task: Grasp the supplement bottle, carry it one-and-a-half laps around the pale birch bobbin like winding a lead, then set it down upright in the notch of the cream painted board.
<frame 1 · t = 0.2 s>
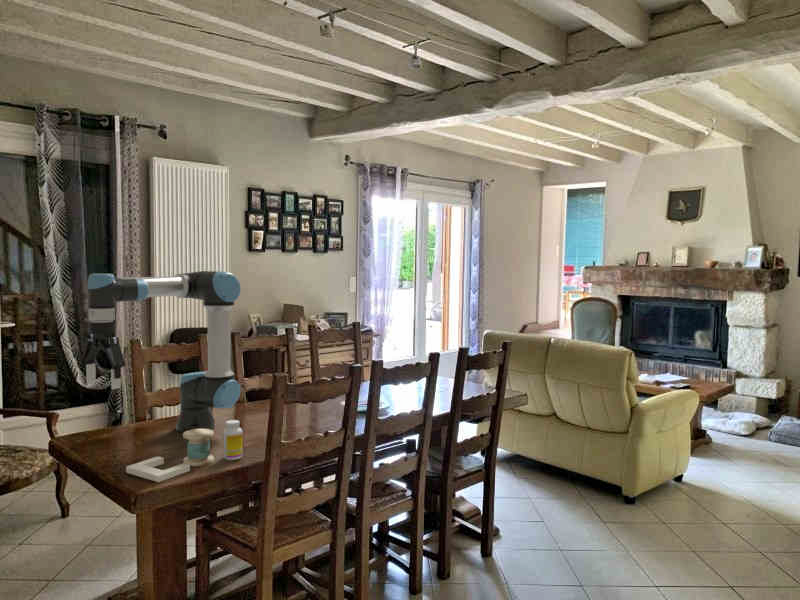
hand: (103, 386, 194), 28 cm above the table, fingers open, 13 cm apart
supplement bottle: (232, 458, 209), on the table
bobbin: (198, 461, 205), on the table
notched board: (158, 471, 194), on the table
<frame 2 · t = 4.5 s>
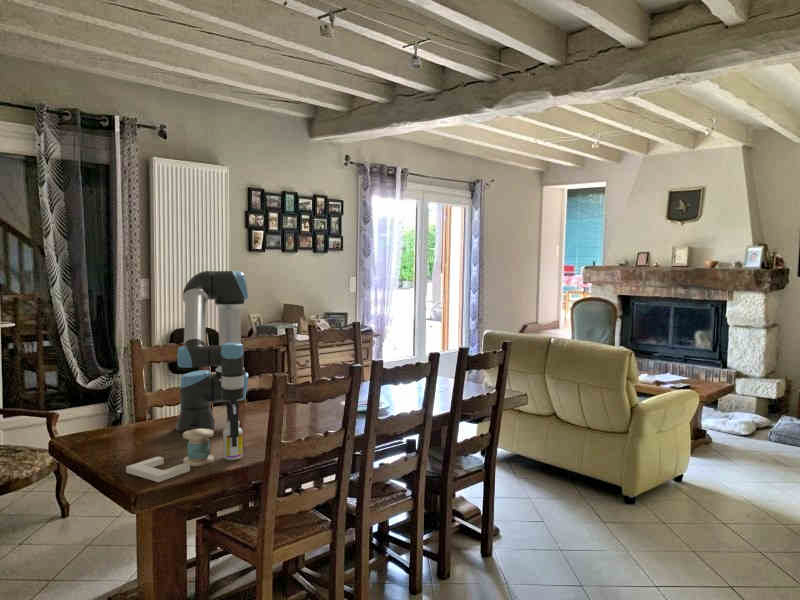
hand: (232, 451, 209), 2 cm above the table, fingers closed on supplement bottle, 7 cm apart
supplement bottle: (232, 458, 209), on the table, touching gripper
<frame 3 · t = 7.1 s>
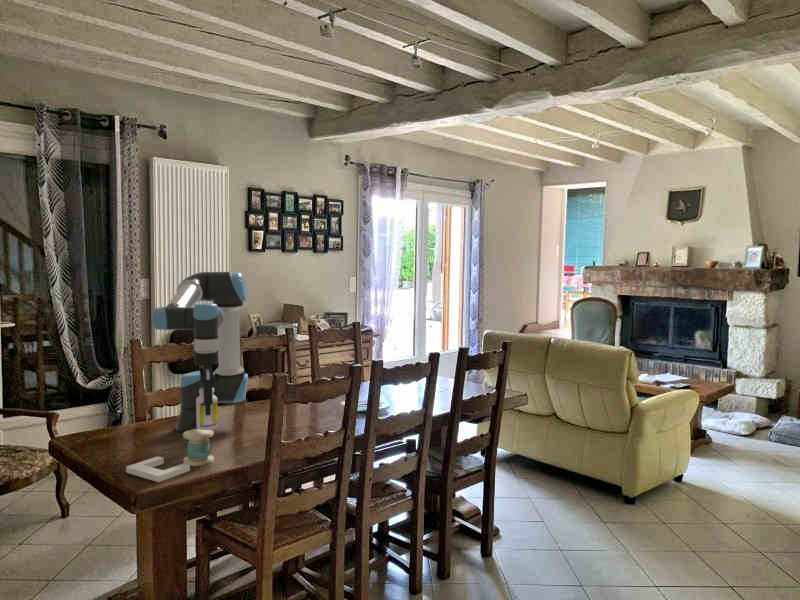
hand: (206, 421, 193), 17 cm above the table, fingers closed on supplement bottle, 7 cm apart
supplement bottle: (207, 428, 194), point 15 cm above the table, touching gripper
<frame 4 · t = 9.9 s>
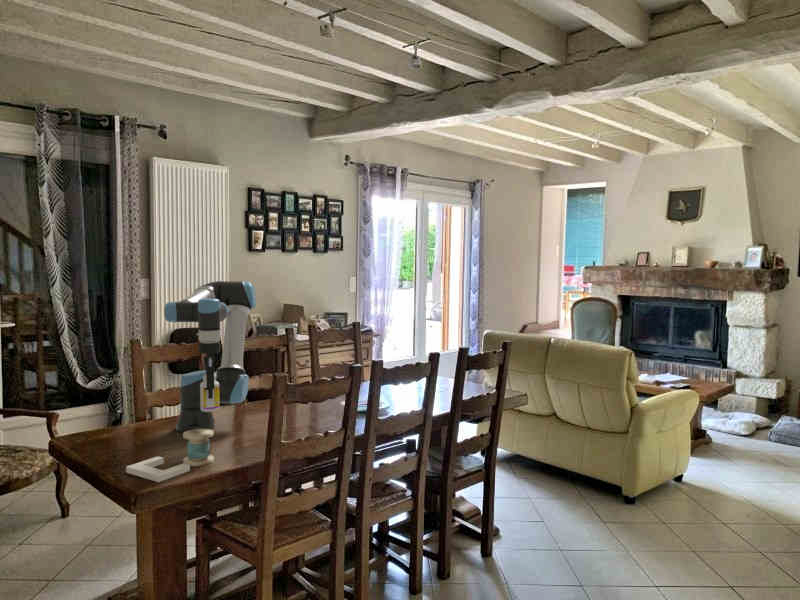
hand: (210, 404, 216), 17 cm above the table, fingers closed on supplement bottle, 7 cm apart
supplement bottle: (210, 410, 216), point 15 cm above the table, touching gripper
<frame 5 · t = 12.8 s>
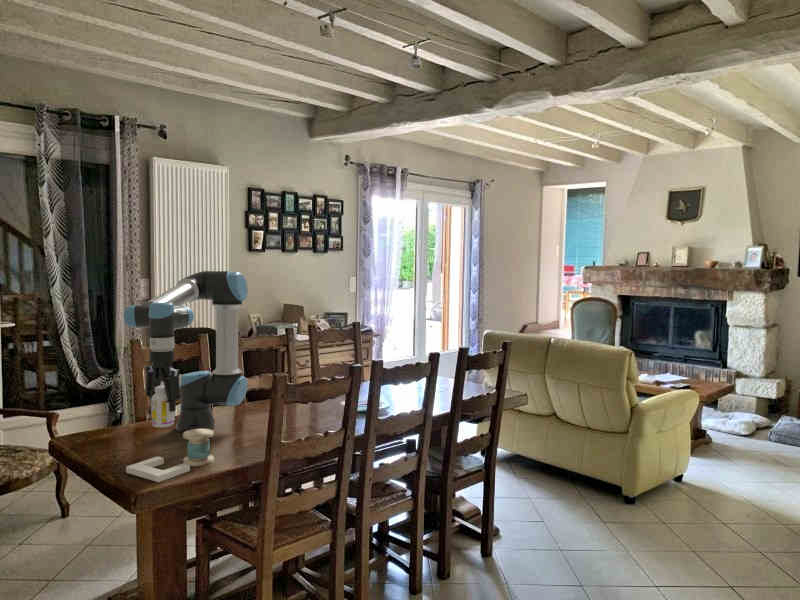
hand: (163, 419, 195), 17 cm above the table, fingers closed on supplement bottle, 7 cm apart
supplement bottle: (163, 425, 195), point 15 cm above the table, touching gripper
when the fingers open (4 cm above the table, at t = 15.5 s): supplement bottle drops 2 cm, on the table.
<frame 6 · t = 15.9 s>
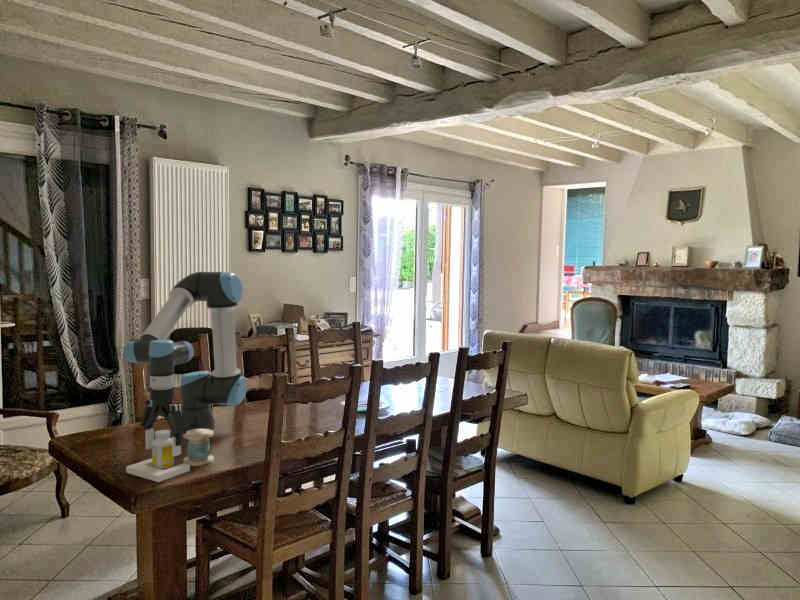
hand: (163, 451, 196), 6 cm above the table, fingers open, 13 cm apart
supplement bottle: (163, 470, 196), on the table
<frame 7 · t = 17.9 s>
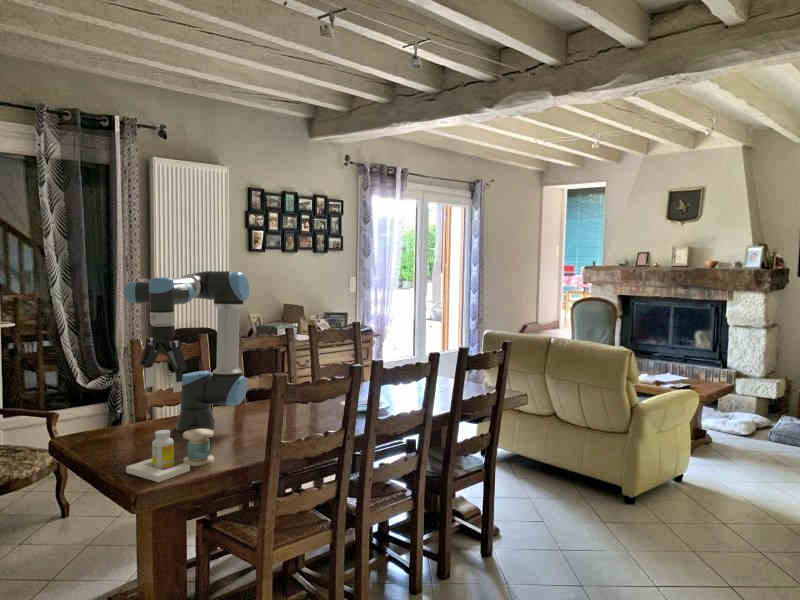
hand: (163, 389, 195), 27 cm above the table, fingers open, 13 cm apart
nothing on the table moved.
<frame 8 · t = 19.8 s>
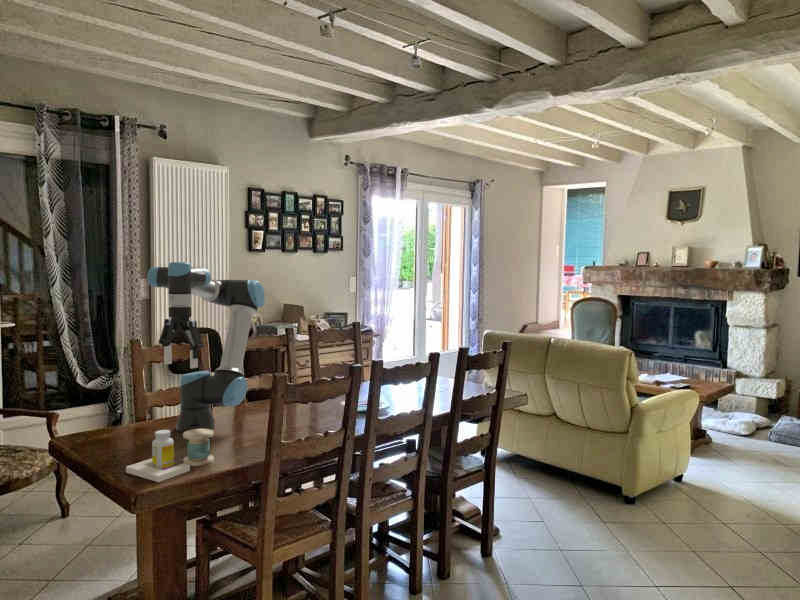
hand: (180, 366, 210), 32 cm above the table, fingers open, 13 cm apart
nothing on the table moved.
at the end: supplement bottle 0.0 cm from the target spot on the notched board, point 0.0 cm above the notched board's base; supplement bottle tilted 0°; the gripper is holding nothing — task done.
